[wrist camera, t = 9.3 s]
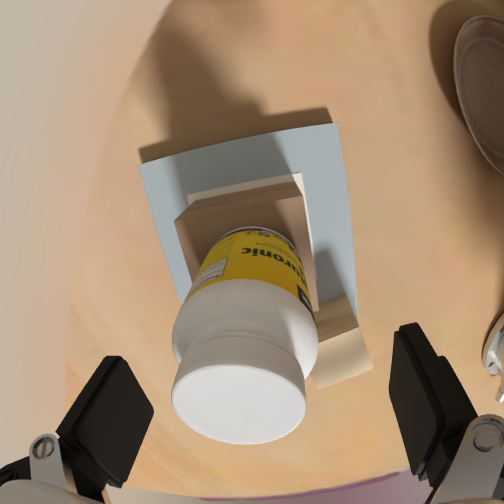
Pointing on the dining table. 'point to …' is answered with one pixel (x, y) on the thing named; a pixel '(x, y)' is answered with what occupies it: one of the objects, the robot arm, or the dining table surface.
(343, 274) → the board
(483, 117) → the saucer
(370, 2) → the dining table surface
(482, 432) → the robot arm
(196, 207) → the walnut block
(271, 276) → the supplement bottle
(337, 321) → the oak cube
